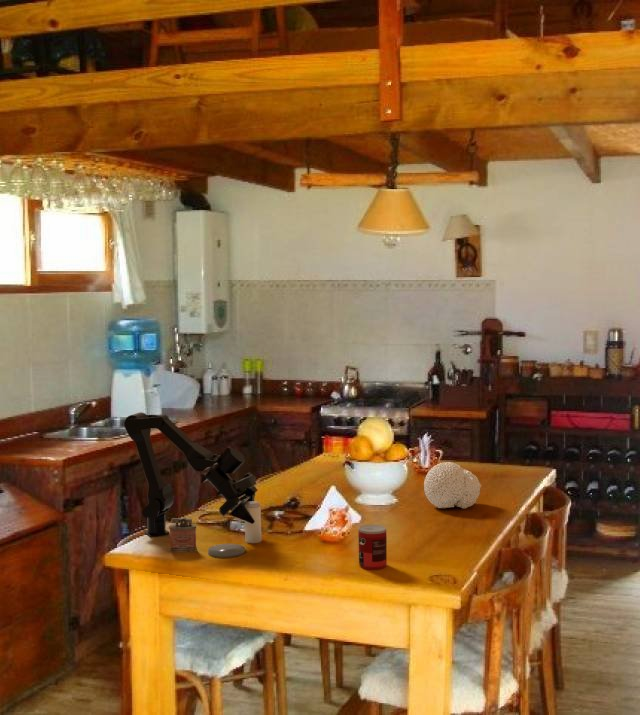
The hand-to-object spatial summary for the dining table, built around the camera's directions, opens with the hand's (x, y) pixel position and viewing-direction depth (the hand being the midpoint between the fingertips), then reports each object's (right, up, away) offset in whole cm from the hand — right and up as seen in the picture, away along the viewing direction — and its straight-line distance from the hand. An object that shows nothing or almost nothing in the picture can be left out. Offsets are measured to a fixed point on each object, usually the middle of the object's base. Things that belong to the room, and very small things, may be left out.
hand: (257, 520), depth 302 cm
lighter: (-22, -8, -7) cm, 24 cm away
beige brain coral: (+65, -2, +40) cm, 76 cm away
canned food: (+34, -9, -25) cm, 44 cm away
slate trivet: (-8, -8, -10) cm, 15 cm away
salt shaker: (-1, -6, +1) cm, 7 cm away
